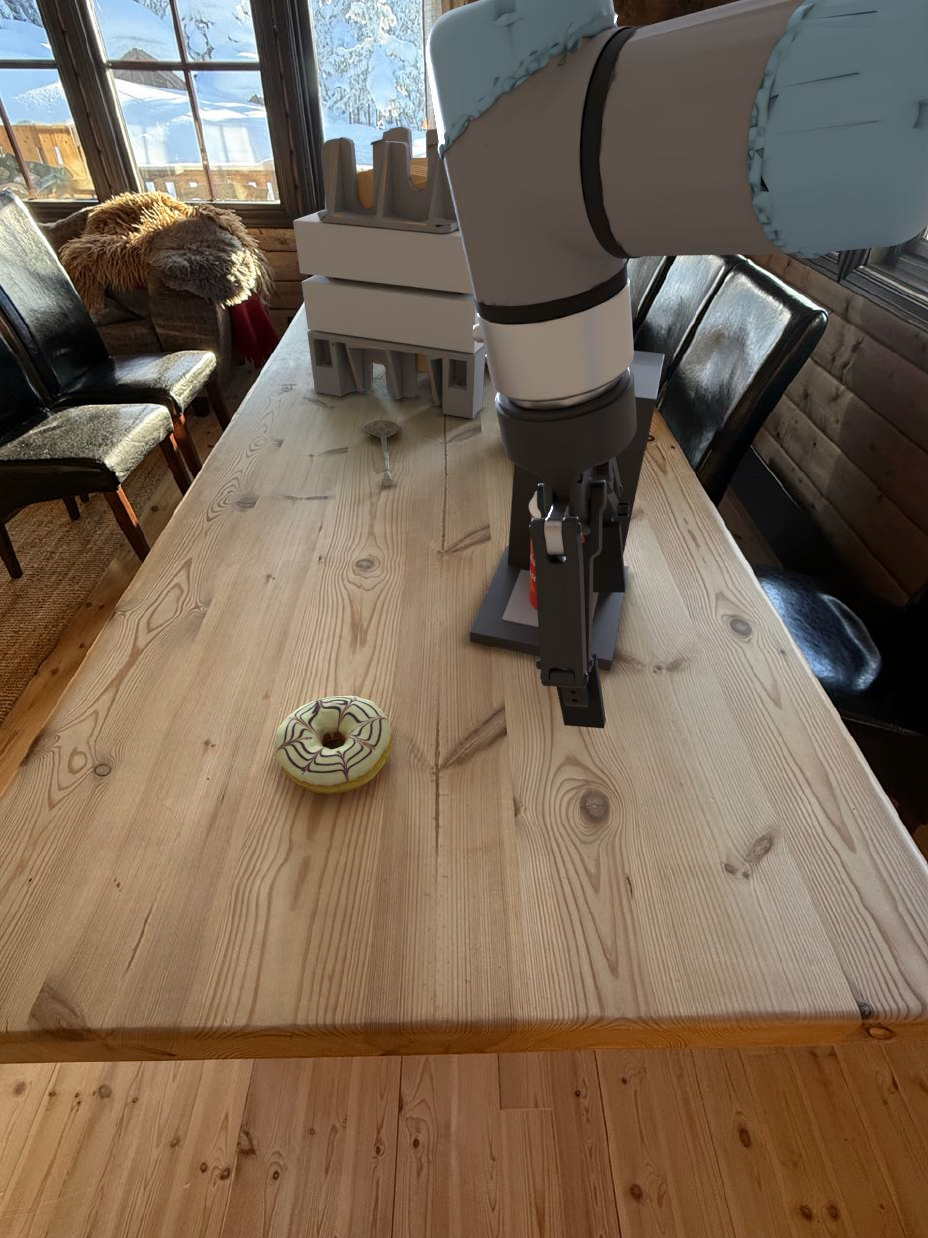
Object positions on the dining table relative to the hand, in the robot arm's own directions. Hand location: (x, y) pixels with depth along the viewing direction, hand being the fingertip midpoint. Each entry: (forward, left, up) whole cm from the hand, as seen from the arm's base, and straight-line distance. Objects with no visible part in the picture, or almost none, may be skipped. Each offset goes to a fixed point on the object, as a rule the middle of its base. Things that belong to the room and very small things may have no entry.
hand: (597, 650), depth 49 cm
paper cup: (+15, -20, -16) cm, 29 cm away
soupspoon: (+59, -36, -17) cm, 71 cm away
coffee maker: (+15, -20, -17) cm, 30 cm away
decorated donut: (+19, +11, -17) cm, 28 cm away
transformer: (+77, -66, -17) cm, 103 cm away
